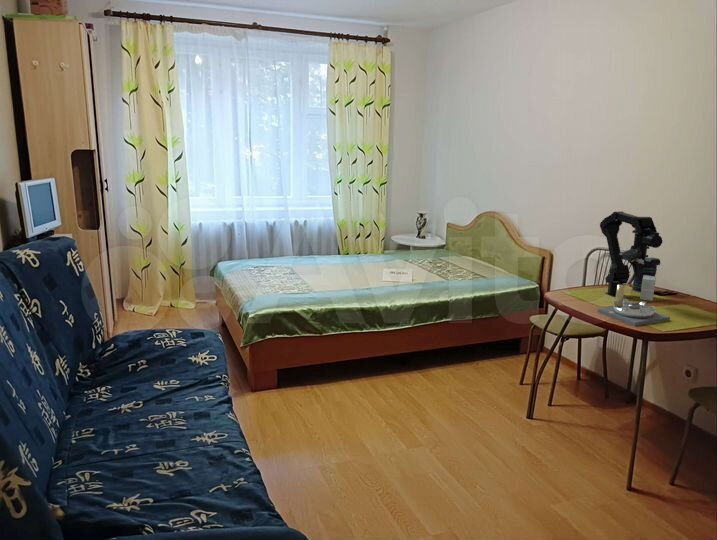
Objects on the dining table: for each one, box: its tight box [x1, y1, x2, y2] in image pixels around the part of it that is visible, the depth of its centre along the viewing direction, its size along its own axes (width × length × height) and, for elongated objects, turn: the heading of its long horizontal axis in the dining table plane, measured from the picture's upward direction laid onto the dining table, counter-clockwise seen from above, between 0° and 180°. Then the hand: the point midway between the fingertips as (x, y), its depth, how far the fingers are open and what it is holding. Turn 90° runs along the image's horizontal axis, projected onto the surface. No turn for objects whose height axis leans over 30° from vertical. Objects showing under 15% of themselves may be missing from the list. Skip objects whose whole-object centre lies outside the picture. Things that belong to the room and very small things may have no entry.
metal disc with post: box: [612, 284, 656, 318], centre depth 229 cm, size 16×16×12 cm
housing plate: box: [597, 306, 671, 327], centre depth 230 cm, size 20×20×2 cm
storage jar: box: [632, 265, 658, 293], centre depth 269 cm, size 10×10×15 cm
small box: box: [639, 275, 657, 301], centre depth 256 cm, size 8×6×10 cm
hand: (636, 276), depth 247 cm, fingers closed
